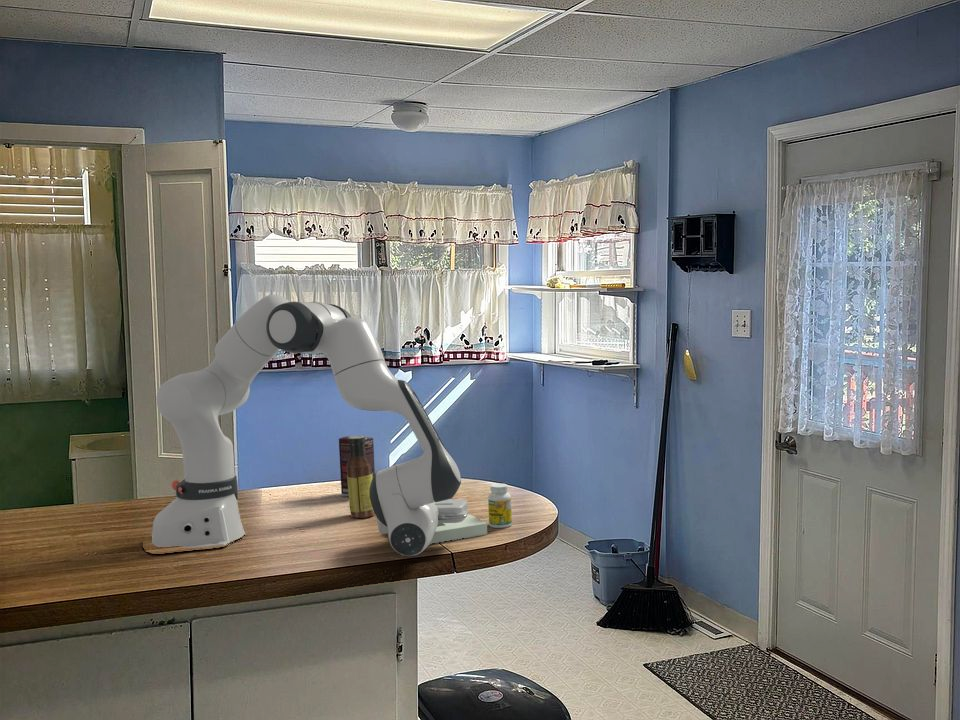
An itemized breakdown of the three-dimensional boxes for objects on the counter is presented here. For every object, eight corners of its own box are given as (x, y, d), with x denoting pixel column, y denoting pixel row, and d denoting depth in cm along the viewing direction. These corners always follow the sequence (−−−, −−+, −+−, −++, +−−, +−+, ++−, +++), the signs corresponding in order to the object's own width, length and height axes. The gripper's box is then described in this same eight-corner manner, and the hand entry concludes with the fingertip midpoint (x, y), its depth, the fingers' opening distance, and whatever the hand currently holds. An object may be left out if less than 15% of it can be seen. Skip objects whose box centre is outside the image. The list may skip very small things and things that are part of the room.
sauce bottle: (377, 512, 231) (374, 434, 229) (372, 519, 225) (368, 438, 223) (352, 512, 232) (348, 434, 230) (346, 519, 225) (342, 439, 223)
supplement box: (376, 495, 248) (374, 437, 247) (365, 499, 244) (362, 440, 243) (351, 492, 253) (349, 435, 251) (340, 496, 249) (337, 438, 247)
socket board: (413, 547, 201) (413, 535, 201) (390, 531, 213) (390, 520, 213) (487, 534, 209) (486, 523, 209) (460, 520, 221) (460, 509, 221)
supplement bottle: (515, 523, 217) (514, 483, 216) (505, 529, 212) (504, 488, 211) (495, 521, 220) (494, 481, 219) (484, 527, 215) (483, 486, 214)
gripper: (466, 503, 195) (470, 487, 209) (370, 504, 197) (381, 488, 210) (467, 532, 196) (471, 514, 210) (371, 533, 197) (382, 515, 211)
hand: (425, 501), depth 210 cm, fingers closed on peg, 4 cm apart
